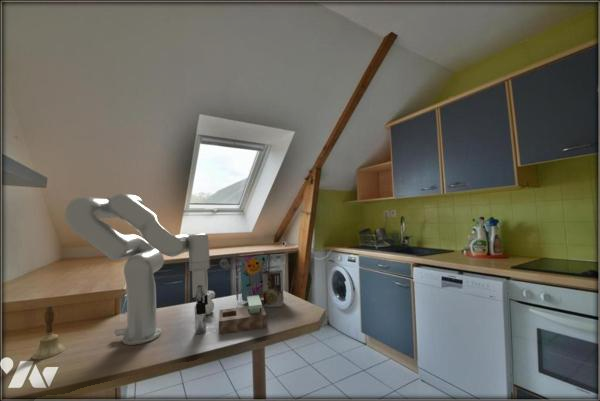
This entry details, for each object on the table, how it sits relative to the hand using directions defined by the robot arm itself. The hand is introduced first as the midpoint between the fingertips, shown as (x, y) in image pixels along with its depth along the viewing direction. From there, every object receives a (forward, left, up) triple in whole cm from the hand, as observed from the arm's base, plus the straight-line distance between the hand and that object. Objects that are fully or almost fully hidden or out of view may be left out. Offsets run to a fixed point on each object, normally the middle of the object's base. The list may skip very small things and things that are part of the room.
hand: (202, 309), depth 103 cm
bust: (0, +19, -9) cm, 21 cm away
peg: (-1, 0, -9) cm, 9 cm away
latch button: (+20, +1, -5) cm, 21 cm away
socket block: (+15, +1, -9) cm, 17 cm away
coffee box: (+31, +19, -9) cm, 38 cm away
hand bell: (-50, +1, -9) cm, 51 cm away
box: (+18, +26, -9) cm, 33 cm away
